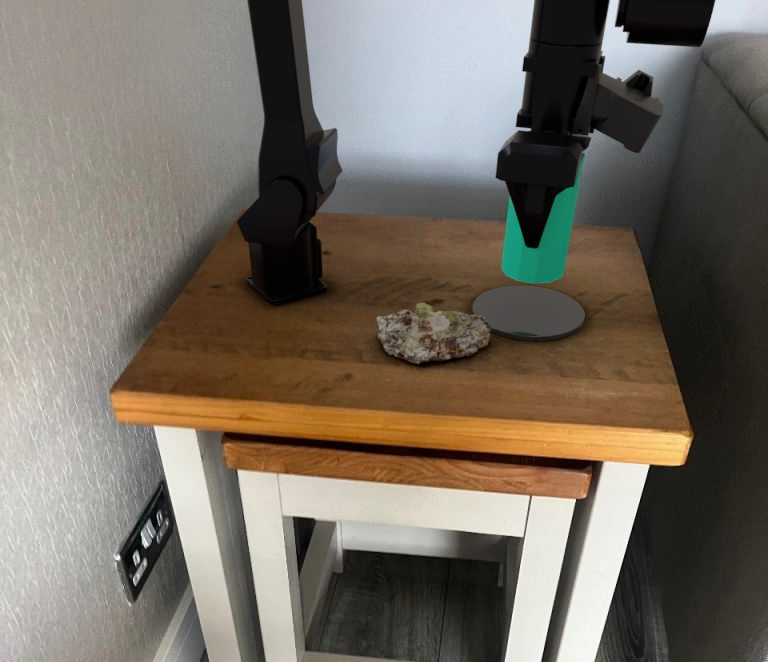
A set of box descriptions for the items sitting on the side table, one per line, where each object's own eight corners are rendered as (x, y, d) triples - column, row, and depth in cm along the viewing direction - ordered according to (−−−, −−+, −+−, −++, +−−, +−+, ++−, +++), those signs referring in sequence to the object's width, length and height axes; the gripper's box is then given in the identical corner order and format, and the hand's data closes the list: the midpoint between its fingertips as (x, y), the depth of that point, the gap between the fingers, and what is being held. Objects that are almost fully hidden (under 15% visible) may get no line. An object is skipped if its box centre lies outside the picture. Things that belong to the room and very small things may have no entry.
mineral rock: (376, 346, 67) (376, 283, 72) (374, 381, 71) (374, 319, 75) (500, 350, 68) (492, 287, 72) (491, 384, 71) (485, 322, 76)
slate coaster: (521, 352, 71) (522, 347, 71) (450, 306, 78) (450, 301, 78) (607, 322, 76) (608, 317, 76) (532, 281, 83) (533, 276, 83)
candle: (561, 258, 76) (584, 127, 68) (566, 285, 72) (591, 147, 64) (500, 255, 77) (515, 124, 69) (501, 281, 72) (518, 144, 64)
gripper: (667, 73, 53) (618, 288, 63) (674, 26, 67) (633, 209, 77) (506, 60, 56) (484, 269, 66) (544, 17, 69) (521, 196, 79)
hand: (537, 233), depth 72 cm, fingers closed on candle, 6 cm apart
